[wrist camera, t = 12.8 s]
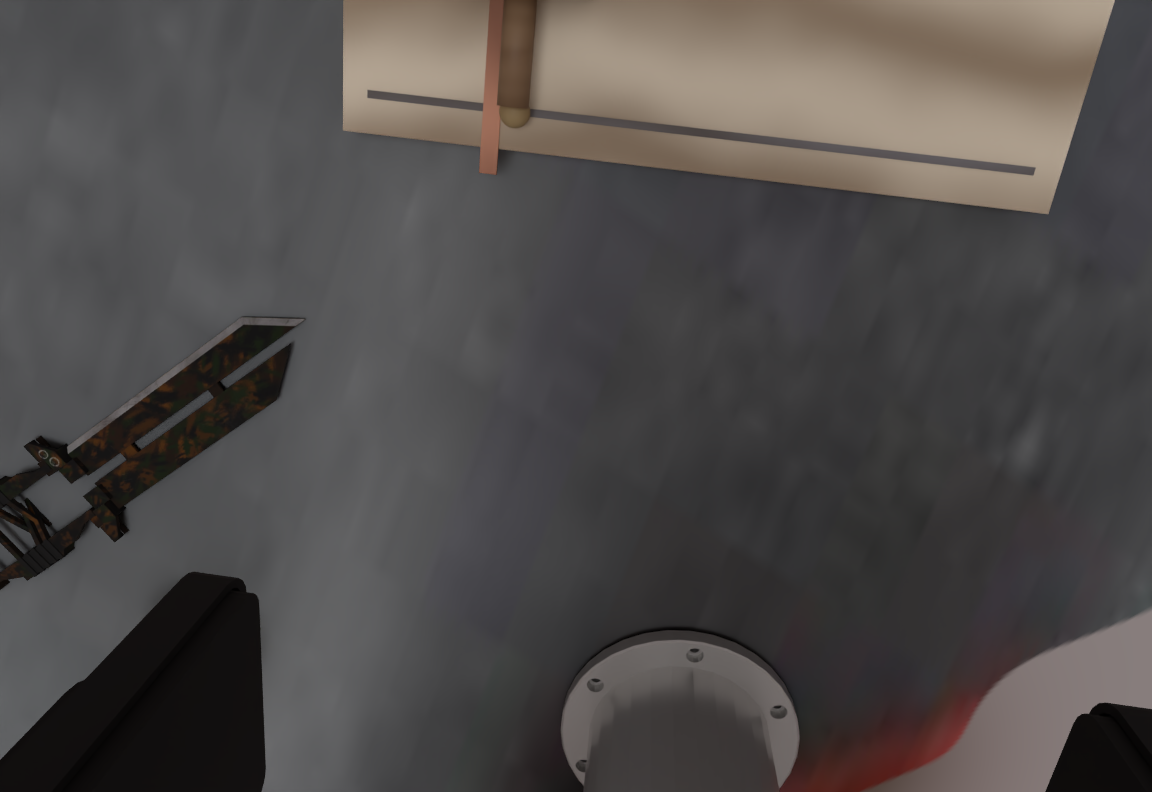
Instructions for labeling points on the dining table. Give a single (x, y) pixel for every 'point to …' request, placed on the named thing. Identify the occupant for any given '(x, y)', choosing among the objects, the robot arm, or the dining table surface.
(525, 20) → the brown block with peg
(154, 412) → the knife
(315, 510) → the dining table surface
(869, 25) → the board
